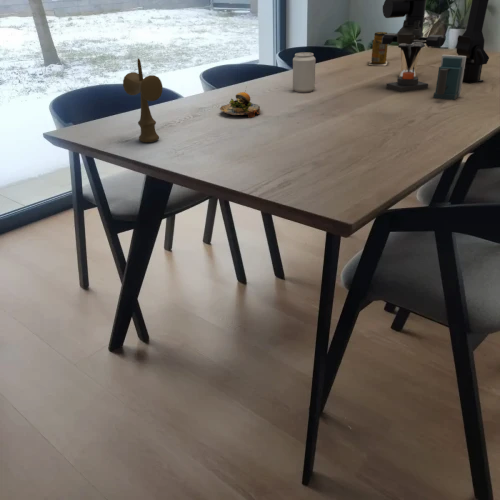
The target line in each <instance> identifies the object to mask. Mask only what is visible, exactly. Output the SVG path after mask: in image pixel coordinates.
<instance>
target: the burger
mask: <svg viewBox="0 0 500 500" xmlns="http://www.w3.org/2000/svg"><path fill="white" fill-rule="evenodd" d="M245 87H246V88H247V86H245ZM260 108H261V106H260V105H259V104H256V103H252V102H251V96H250V94H248V93H247V92H246V91H240V92H238V93H236V94H235V100H234V98H233V97H231V98H230V101H229V102H228V104H224V105H222V106H220V107H219V110H220V111H221V112H222V113H225V114H227V115H232V116H244V115H247V117H248V119H250V118H254V117H255V115H256V114H257V115H260V114H261V109H260Z"/></svg>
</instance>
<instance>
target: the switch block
mask: <svg viewBox="0 0 500 500" xmlns="http://www.w3.org/2000/svg"><path fill="white" fill-rule="evenodd" d="M402 77H403V76H401V77H399V76H397V80H396V81H394V82H393V81H392V82H387V83H386V86H385V89H386V90H391V91H395V92H399V93H408V92H414V91H420V90H426V89H429V83H427V82H425V81H419V77H417V76H416V77H414V79H402Z"/></svg>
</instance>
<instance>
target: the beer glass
mask: <svg viewBox="0 0 500 500" xmlns="http://www.w3.org/2000/svg"><path fill="white" fill-rule="evenodd" d="M412 44H413V46H414V43H412ZM421 51H422V49H421V50H420V51H419V53H418V54H417V56H416V58H415V60H414V62H413V64H412V66H411V68H408V67H407V63H406V59H405V55H404V52H403V50H402V49H401V48H400V62H401V66H400V72H399V75H398V77H401V76H403V72H413V73H414V77H417V65H418V62H419V59H420V58H419V57H420V54H421Z"/></svg>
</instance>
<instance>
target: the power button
mask: <svg viewBox="0 0 500 500" xmlns="http://www.w3.org/2000/svg"><path fill="white" fill-rule="evenodd" d="M402 79H414V73H413V72H403V77H402Z"/></svg>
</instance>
